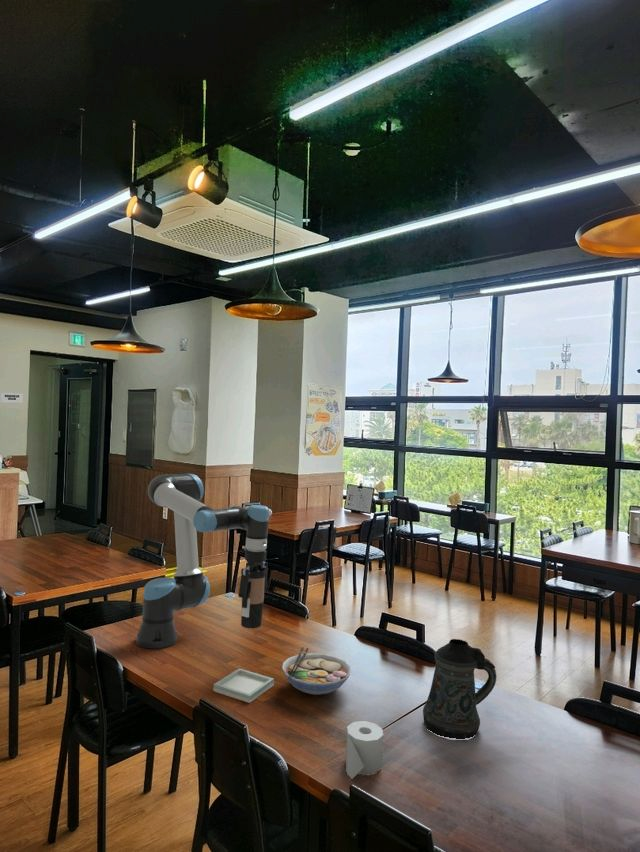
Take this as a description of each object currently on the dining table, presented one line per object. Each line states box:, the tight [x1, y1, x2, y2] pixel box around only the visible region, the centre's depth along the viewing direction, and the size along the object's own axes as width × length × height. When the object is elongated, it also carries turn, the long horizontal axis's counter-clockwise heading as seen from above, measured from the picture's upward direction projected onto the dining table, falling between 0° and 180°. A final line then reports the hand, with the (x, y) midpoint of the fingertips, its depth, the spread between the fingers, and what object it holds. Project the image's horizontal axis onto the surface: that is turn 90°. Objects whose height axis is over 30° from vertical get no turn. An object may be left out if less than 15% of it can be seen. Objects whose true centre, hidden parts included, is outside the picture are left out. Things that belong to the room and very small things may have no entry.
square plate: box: [213, 668, 275, 704], centre depth 178 cm, size 14×14×2 cm
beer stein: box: [422, 638, 497, 739], centre depth 162 cm, size 16×19×25 cm
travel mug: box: [240, 568, 265, 629], centre depth 196 cm, size 8×8×20 cm
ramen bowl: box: [281, 646, 352, 696], centre depth 180 cm, size 25×23×8 cm
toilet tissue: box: [345, 720, 384, 780], centre depth 139 cm, size 9×13×9 cm
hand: (251, 613), depth 196 cm, fingers closed on travel mug, 8 cm apart
